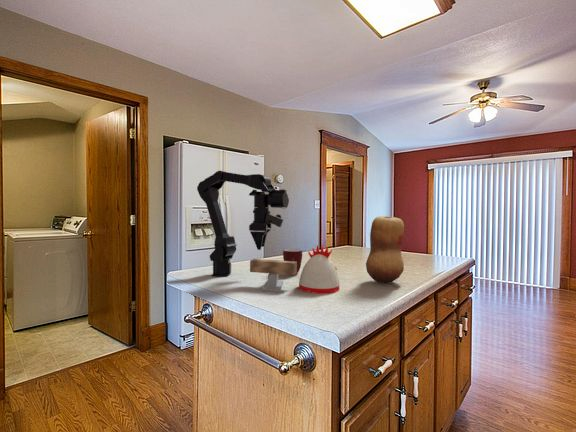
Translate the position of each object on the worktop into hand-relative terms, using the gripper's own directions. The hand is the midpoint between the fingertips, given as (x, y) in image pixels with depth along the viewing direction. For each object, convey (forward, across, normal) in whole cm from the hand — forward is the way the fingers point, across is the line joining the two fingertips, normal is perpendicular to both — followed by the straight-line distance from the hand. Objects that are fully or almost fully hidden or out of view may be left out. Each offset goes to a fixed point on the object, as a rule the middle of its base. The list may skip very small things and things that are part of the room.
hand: (261, 248), depth 119 cm
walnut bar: (+7, -11, -6) cm, 14 cm away
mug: (+12, +10, -12) cm, 20 cm away
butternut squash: (+12, 0, -47) cm, 49 cm away
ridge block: (+12, -11, -6) cm, 17 cm away
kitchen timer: (+12, -11, -22) cm, 28 cm away
